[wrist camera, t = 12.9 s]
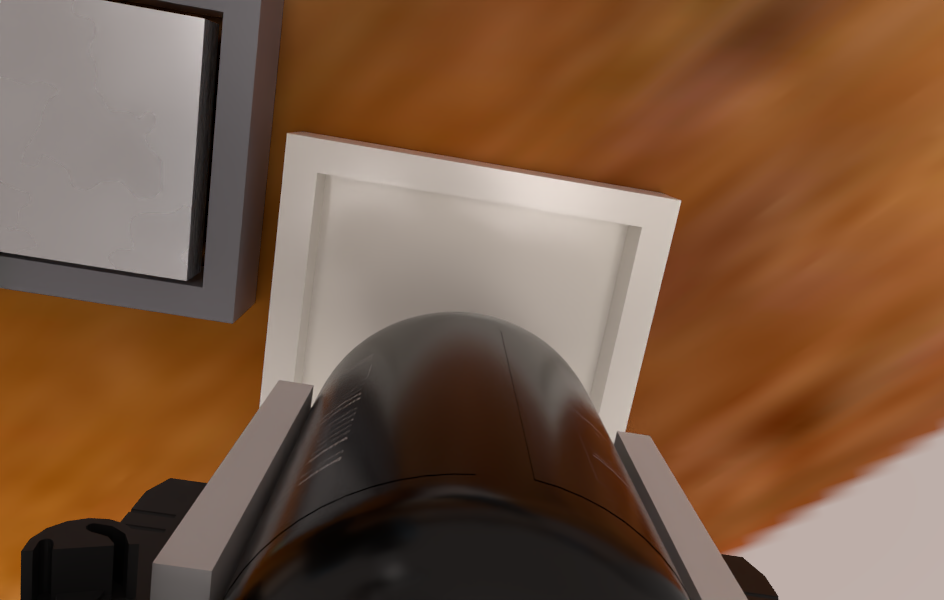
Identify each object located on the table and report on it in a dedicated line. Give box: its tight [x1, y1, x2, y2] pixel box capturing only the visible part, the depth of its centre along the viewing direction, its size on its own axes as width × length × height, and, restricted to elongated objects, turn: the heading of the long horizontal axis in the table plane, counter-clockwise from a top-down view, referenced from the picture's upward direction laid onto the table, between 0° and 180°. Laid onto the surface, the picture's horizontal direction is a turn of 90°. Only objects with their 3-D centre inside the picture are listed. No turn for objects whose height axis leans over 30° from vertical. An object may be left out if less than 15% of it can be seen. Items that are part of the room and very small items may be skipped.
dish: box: [259, 131, 681, 444], centre depth 24 cm, size 12×12×2 cm
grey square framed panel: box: [0, 0, 284, 324], centre depth 21 cm, size 10×10×3 cm
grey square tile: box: [0, 0, 219, 281], centre depth 20 cm, size 7×7×1 cm
